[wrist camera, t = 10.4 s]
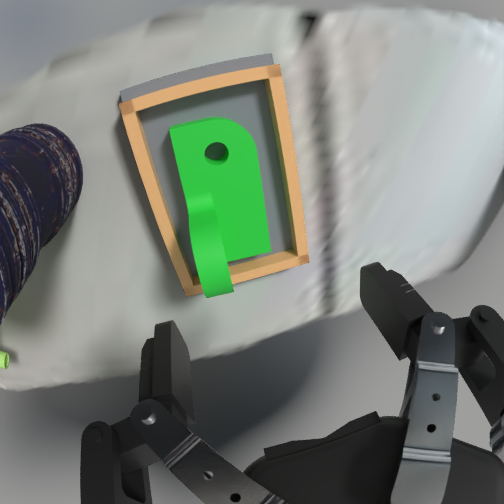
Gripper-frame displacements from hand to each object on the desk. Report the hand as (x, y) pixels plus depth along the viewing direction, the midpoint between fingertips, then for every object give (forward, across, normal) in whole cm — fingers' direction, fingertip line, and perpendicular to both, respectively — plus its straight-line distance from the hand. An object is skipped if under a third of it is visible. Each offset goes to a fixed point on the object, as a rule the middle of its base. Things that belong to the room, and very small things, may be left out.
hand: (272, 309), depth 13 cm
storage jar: (+16, +16, -6) cm, 24 cm away
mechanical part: (+16, 0, 0) cm, 16 cm away
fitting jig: (+16, 0, 0) cm, 16 cm away
